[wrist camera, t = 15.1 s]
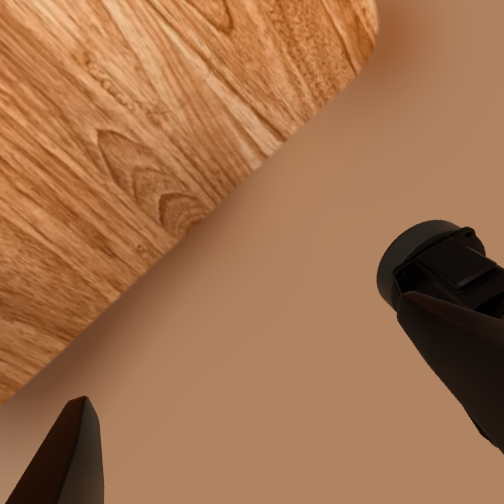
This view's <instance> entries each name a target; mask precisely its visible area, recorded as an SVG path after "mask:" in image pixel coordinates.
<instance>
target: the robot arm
mask: <svg viewBox="0 0 504 504" xmlns="http://www.w3.org/2000/svg"><path fill="white" fill-rule="evenodd" d="M466 233H467V234H466ZM400 272H401V273H400ZM399 273H400V274H399ZM398 274H399V275H398ZM392 276H393V279H394V281H395V284H396V287H397V289H398V292H399V294H400V297H399V303H398V309H397V319H398V322H399V324H400V325H401V326H402V328H403V329H404V331H405V332H406V334H407V335H408V337H409V338H410V340H411V341H412V342H413V344H414V345H415V347H416V348H417V350H418V351H419V353H420V354H421V356H422V357H423V358H424V359H425V361H426V362H427V364H428V365H429V366H430V368H431V369H432V370H433V371H434V372H435V374H436V375H437V376H438V377H439V378H440V380H441V381H442V382H443V383H444V384H445V385H446V386H447V388H448V389H449V390H450V391H451V393H452V394H453V395H454V396H455V397H456V398H457V400H458V401H459V402H460V403H461V404H462V406H463V407H464V409H465V411H466V412H467V414H468V415H469V417H470V419H471V420H472V422H473V423H474V424H475V426H476V428H477V429H478V431H479V433H480V434H481V435H482V436H483V437H485V438H486V439H487V440H489V441H490V443H491V444H492V445H494V446H495V447H497V448H499V449H500V450H501V452H502V453H503V454H504V268H502V267H500V266H499V265H497V263H496V262H494V261H492V260H491V259H489V258H487V257H485V256H484V255H482V254H480V253H479V249H478V244H477V239H476V234H475V231H474V229H472V228H470V227H468V226H465V227H463V228H461V229H460V230H458V231H456V232H455V233H453V234H451V235H450V236H448V237H446V238H444V239H443V240H441V241H439V242H438V243H436V244H434V245H433V246H431V247H429V248H428V249H426V250H424V251H422V252H421V253H419V254H417V255H416V256H414V257H412V258H411V259H409V260H407V261H406V262H404V263H402V264H400V265H399V266H397V267H396V268H394V270H393V271H392ZM5 504H104V476H103V464H102V449H101V436H100V424H99V419H98V416H97V414H96V412H95V410H94V408H93V406H92V404H91V402H90V400H89V398H88V397H87V396H81V397H79V398H75V399H72V400H70V401H68V402H67V404H66V405H65V407H64V408H63V410H62V412H61V413H60V415H59V417H58V418H57V420H56V421H55V423H54V425H53V426H52V428H51V430H50V431H49V433H48V434H47V436H46V438H45V440H44V441H43V443H42V444H41V446H40V448H39V449H38V451H37V453H36V454H35V456H34V457H33V459H32V461H31V462H30V464H29V466H28V467H27V469H26V470H25V472H24V474H23V475H22V477H21V479H20V480H19V482H18V483H17V485H16V487H15V488H14V490H13V492H12V493H11V495H10V497H9V498H8V500H7V501H6V503H5Z"/></svg>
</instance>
